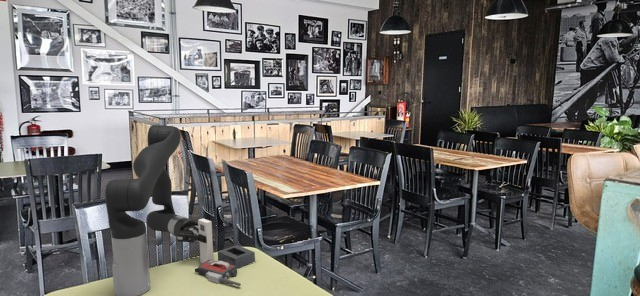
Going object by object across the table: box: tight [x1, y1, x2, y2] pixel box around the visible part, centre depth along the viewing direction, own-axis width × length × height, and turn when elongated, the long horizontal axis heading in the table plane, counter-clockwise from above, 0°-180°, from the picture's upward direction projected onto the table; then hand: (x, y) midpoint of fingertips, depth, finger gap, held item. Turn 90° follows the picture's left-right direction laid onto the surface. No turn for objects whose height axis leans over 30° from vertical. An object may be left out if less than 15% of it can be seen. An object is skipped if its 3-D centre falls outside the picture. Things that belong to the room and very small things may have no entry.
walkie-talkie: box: [194, 259, 241, 287], centre depth 136 cm, size 9×4×20 cm
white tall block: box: [197, 217, 214, 264], centre depth 145 cm, size 5×2×15 cm, turn 46°
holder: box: [217, 244, 256, 270], centre depth 148 cm, size 10×8×4 cm
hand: (209, 239), depth 144 cm, fingers closed on white tall block, 1 cm apart
